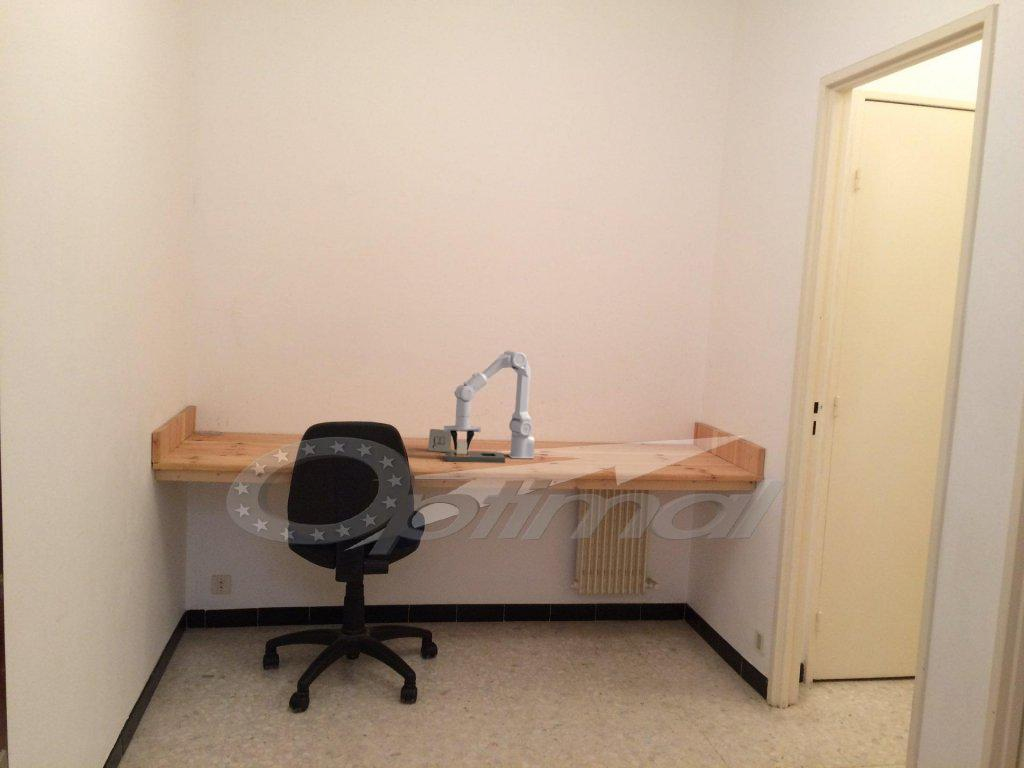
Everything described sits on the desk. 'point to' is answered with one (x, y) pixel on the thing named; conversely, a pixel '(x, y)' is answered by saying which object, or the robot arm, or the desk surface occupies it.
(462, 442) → the peg
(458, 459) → the grey board with holes
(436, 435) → the electrical switch
